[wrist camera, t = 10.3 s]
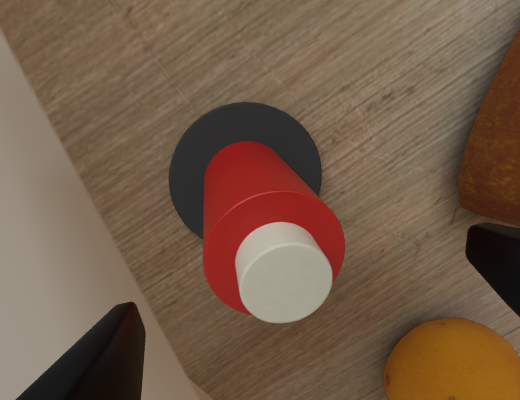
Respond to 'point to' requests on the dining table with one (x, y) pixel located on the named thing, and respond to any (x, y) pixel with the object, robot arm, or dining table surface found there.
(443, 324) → the fruit
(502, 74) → the bread
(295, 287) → the ketchup bottle
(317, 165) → the disc
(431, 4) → the dining table surface
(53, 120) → the dining table surface
